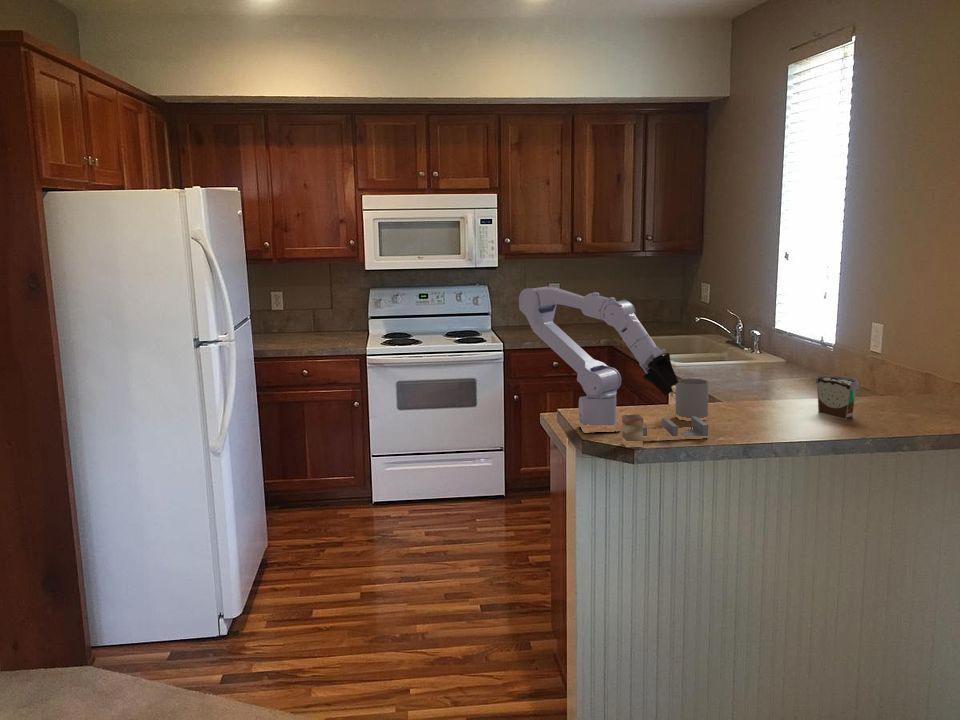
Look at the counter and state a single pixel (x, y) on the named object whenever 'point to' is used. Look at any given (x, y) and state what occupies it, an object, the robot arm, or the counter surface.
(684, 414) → the cup
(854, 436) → the counter surface
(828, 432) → the counter surface
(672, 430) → the gray i-beam stand
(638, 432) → the peg
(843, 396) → the food container
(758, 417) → the counter surface
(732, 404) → the counter surface
